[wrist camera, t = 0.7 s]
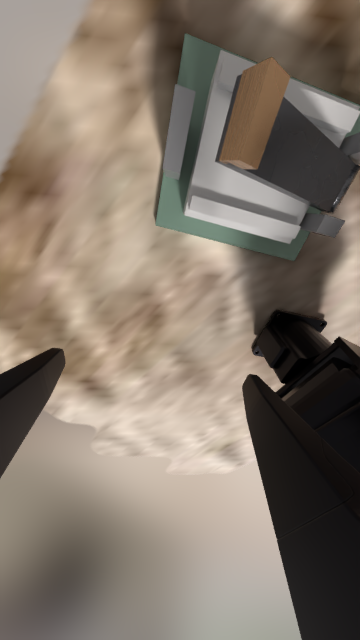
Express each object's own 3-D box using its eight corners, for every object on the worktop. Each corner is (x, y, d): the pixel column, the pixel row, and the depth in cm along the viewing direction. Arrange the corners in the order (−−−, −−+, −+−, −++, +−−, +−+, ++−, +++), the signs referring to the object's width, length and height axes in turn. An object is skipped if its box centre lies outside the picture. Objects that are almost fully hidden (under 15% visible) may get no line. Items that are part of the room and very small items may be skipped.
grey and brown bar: (345, 168, 12) (377, 169, 11) (321, 211, 13) (348, 216, 12) (233, 75, 7) (271, 56, 6) (211, 160, 8) (239, 160, 7)
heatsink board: (365, 116, 13) (466, 71, 9) (289, 258, 18) (327, 278, 14) (184, 43, 11) (190, -63, 7) (156, 224, 17) (149, 233, 12)
